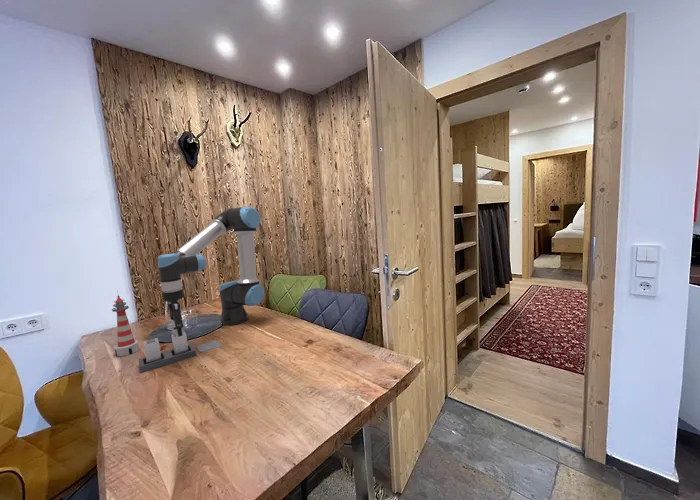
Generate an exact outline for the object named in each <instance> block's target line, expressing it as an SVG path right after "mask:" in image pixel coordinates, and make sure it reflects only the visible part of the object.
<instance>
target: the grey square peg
mask: <svg viewBox="0 0 700 500" xmlns="http://www.w3.org/2000/svg"><path fill="white" fill-rule="evenodd" d="M183 332H184V340H185V342H184V343H181V344H177V339H176V333H174V334H173V333H171V341H172V349H174V356H175V355H178V354H182V353H185V352H188V345H189V344H188V337H187V333H186V331H185V330H183Z"/></svg>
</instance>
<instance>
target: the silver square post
mask: <svg viewBox="0 0 700 500" xmlns="http://www.w3.org/2000/svg"><path fill="white" fill-rule="evenodd" d="M143 349H144V354H145V357H146V362H147V364H148V363H152V362H155V361H158V360H161V353H162V352H161V347H160V341H159V338H158V337H156V338H151V339H148V340H145V341H143Z"/></svg>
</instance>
